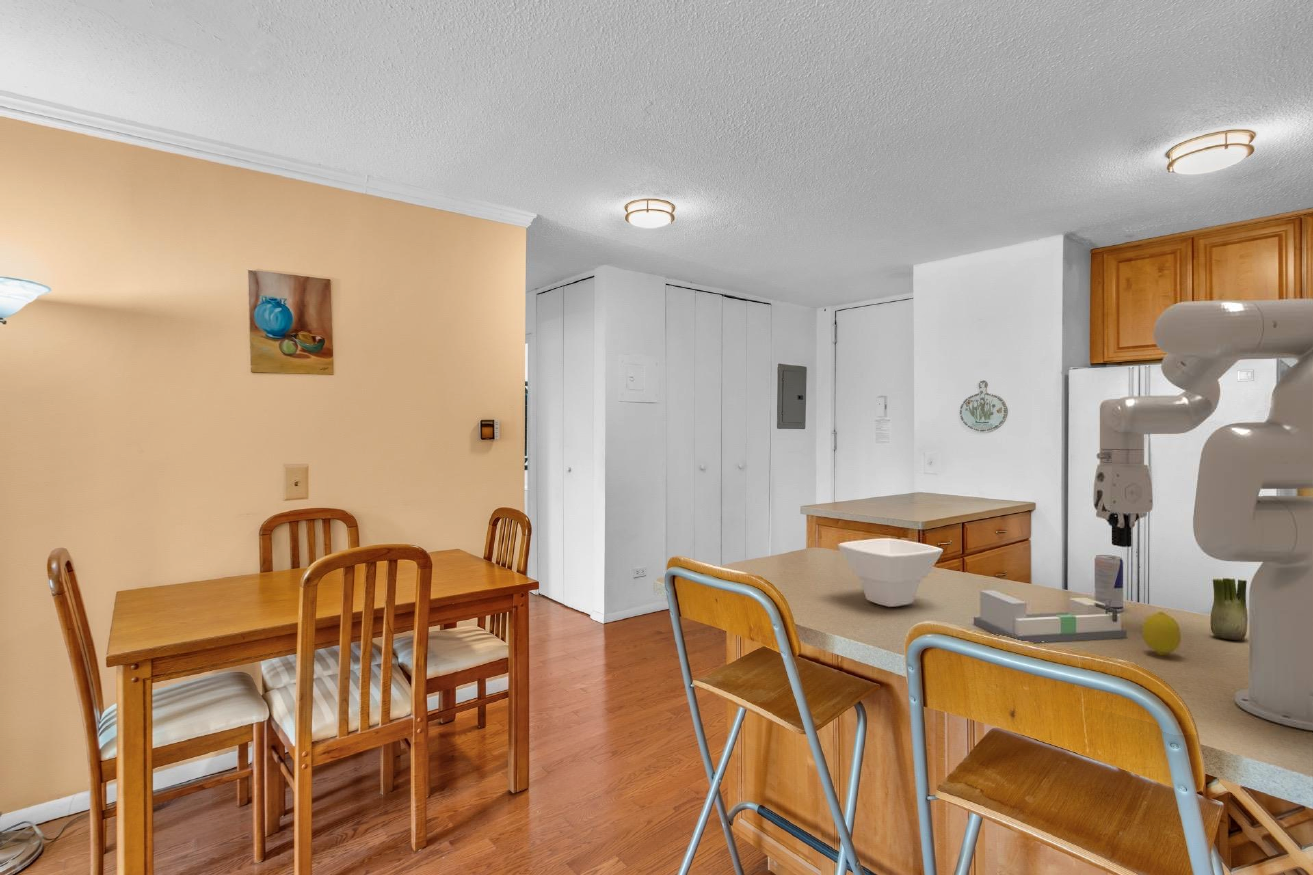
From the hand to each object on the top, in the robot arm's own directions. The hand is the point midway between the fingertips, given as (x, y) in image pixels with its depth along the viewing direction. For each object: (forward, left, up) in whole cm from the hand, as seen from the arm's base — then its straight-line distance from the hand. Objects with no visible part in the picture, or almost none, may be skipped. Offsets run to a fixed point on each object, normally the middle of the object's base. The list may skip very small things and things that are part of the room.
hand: (1121, 545), depth 134 cm
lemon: (-16, +7, -17) cm, 25 cm away
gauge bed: (0, +17, -17) cm, 24 cm away
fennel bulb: (-10, -14, -17) cm, 24 cm away
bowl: (+24, +39, -17) cm, 49 cm away
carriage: (-2, +8, -15) cm, 17 cm away
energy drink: (+12, -8, -17) cm, 22 cm away
